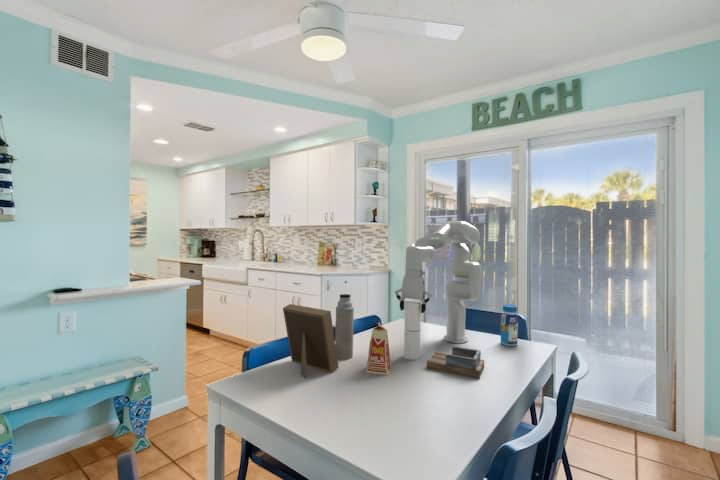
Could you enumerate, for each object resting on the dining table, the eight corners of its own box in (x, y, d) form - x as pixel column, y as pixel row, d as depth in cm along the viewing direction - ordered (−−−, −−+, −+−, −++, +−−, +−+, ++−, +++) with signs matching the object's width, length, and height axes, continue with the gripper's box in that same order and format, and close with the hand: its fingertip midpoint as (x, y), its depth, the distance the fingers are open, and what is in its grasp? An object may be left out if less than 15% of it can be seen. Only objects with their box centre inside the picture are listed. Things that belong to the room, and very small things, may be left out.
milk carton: (388, 375, 141) (389, 324, 141) (365, 373, 143) (366, 323, 143) (391, 367, 150) (392, 319, 150) (369, 365, 152) (370, 317, 152)
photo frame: (298, 358, 158) (299, 302, 157) (338, 369, 146) (339, 308, 145) (273, 369, 145) (273, 307, 145) (314, 382, 133) (315, 315, 133)
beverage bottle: (500, 340, 193) (501, 303, 192) (518, 343, 189) (519, 305, 189) (499, 344, 185) (500, 306, 185) (517, 347, 181) (518, 307, 181)
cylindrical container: (414, 360, 158) (416, 304, 158) (400, 357, 163) (402, 302, 162) (422, 356, 164) (423, 302, 164) (408, 353, 168) (410, 300, 168)
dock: (435, 358, 162) (435, 343, 162) (484, 367, 152) (484, 350, 152) (426, 368, 149) (427, 352, 149) (479, 378, 140) (479, 360, 140)
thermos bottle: (336, 353, 166) (337, 292, 166) (353, 354, 165) (354, 293, 165) (333, 359, 158) (334, 295, 158) (351, 360, 157) (352, 296, 157)
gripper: (434, 274, 162) (433, 312, 162) (398, 271, 170) (397, 307, 170) (430, 275, 156) (428, 315, 156) (392, 272, 163) (391, 310, 163)
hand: (412, 311), depth 163 cm, fingers open, 9 cm apart
